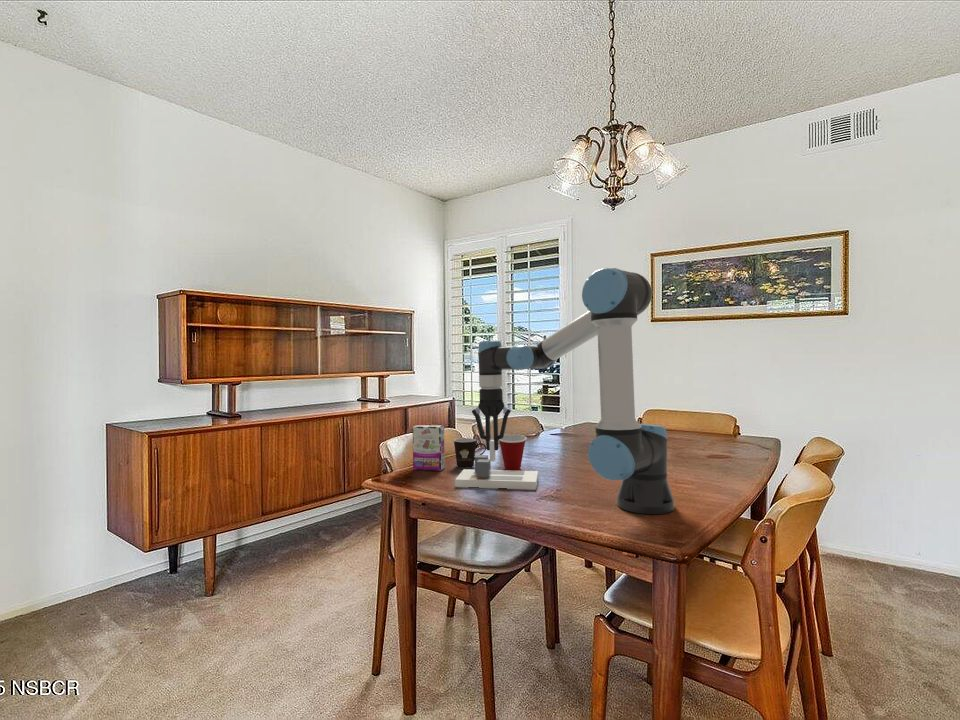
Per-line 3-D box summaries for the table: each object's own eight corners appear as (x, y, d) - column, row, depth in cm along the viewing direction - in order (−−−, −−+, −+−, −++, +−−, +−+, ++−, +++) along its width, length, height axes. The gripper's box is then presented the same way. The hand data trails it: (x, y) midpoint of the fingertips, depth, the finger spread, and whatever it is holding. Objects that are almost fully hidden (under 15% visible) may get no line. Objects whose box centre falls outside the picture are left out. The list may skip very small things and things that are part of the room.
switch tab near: (488, 477, 161) (488, 462, 161) (476, 477, 161) (476, 461, 161) (490, 474, 165) (490, 459, 165) (478, 474, 165) (478, 459, 165)
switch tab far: (486, 472, 168) (486, 457, 168) (474, 472, 169) (474, 457, 168) (488, 469, 172) (488, 455, 172) (476, 469, 172) (476, 454, 172)
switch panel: (535, 489, 157) (535, 481, 157) (455, 487, 161) (455, 479, 161) (538, 478, 171) (537, 470, 171) (463, 476, 175) (463, 468, 175)
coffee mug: (449, 467, 189) (449, 441, 188) (461, 462, 196) (460, 437, 196) (476, 470, 183) (476, 443, 183) (487, 465, 191) (487, 439, 191)
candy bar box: (445, 468, 187) (444, 425, 187) (441, 471, 182) (440, 427, 182) (417, 467, 190) (416, 424, 190) (412, 470, 185) (412, 426, 185)
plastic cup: (498, 472, 180) (497, 439, 180) (498, 465, 191) (497, 434, 190) (528, 472, 179) (527, 439, 179) (526, 465, 190) (526, 434, 190)
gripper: (511, 387, 165) (513, 458, 165) (473, 387, 167) (475, 457, 167) (509, 388, 157) (511, 462, 157) (469, 389, 159) (471, 462, 159)
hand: (492, 460), depth 162 cm, fingers closed
